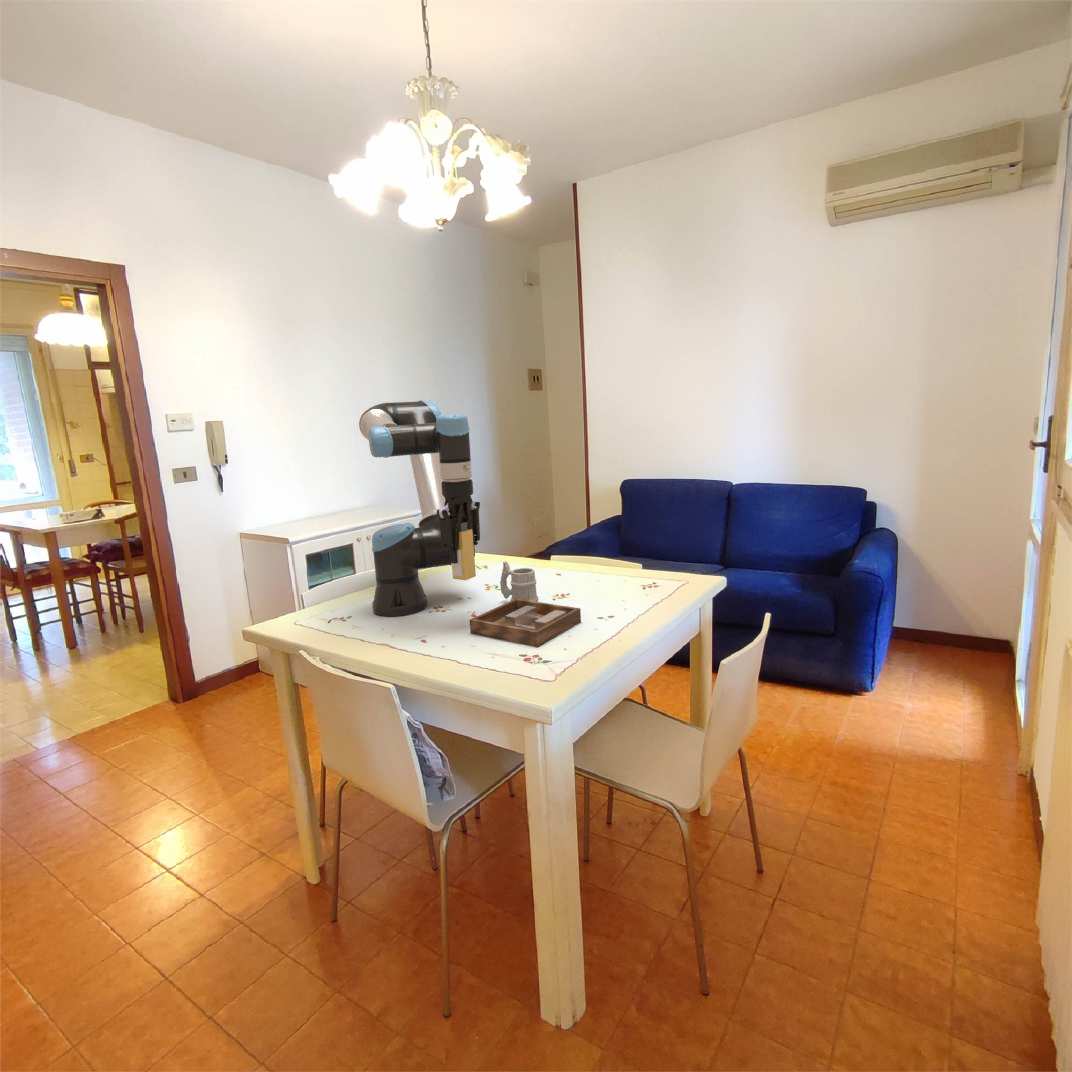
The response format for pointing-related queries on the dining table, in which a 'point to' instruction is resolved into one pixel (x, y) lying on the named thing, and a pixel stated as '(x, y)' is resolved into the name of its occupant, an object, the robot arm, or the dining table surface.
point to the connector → (466, 552)
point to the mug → (519, 583)
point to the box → (496, 628)
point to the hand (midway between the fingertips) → (464, 572)
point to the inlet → (531, 618)
